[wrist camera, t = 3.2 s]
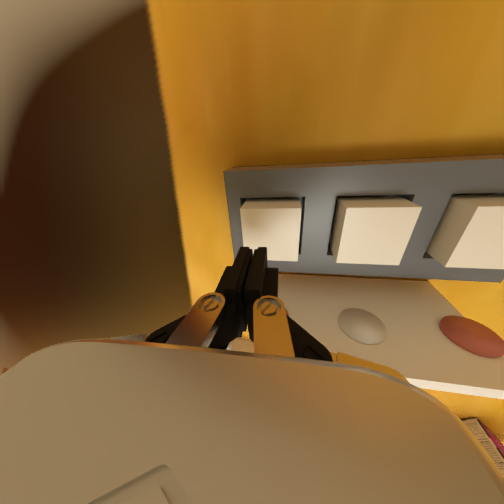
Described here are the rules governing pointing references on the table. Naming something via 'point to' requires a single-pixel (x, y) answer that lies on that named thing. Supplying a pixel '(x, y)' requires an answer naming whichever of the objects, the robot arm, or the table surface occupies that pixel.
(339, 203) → the middle button
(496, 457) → the candy bar box
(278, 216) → the button
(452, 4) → the table surface
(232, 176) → the button panel
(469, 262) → the button
